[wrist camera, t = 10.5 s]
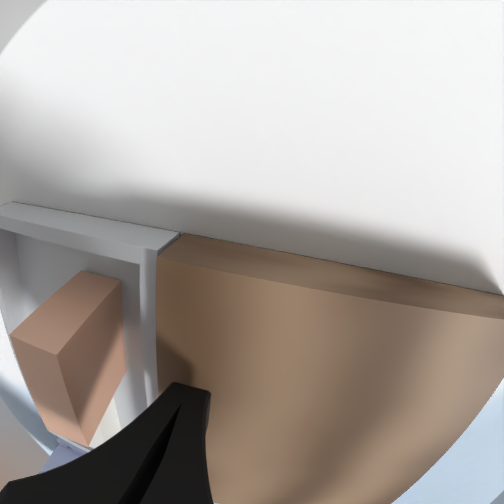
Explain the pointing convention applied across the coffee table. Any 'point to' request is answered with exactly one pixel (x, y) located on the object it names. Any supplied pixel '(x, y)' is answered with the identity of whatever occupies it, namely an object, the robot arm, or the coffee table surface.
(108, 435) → the tile white
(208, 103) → the coffee table surface
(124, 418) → the tray
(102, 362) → the tile terracotta
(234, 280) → the board
